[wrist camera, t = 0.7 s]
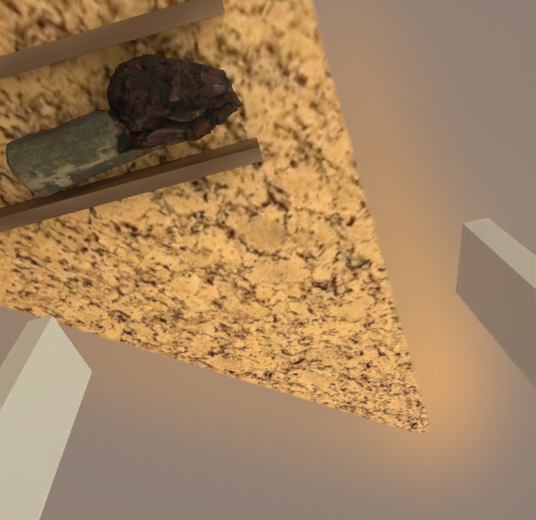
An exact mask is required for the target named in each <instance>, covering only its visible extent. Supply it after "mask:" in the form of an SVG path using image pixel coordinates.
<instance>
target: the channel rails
mask: <svg viewBox="0 0 536 520" xmlns="http://www.w3.org/2000/svg"><path fill="white" fill-rule="evenodd" d="M224 13H225V11H224V7H223V3H222V0H190V1H187V2H184V3H180V4H177V5H173V6H170V7H167V8H163V9H160V10H157V11H153V12H150V13H146V14H143V15H140V16H136V17H133V18H129V19H126V20H123V21H119V22H116V23H112V24H109V25H106V26H102V27H99V28H96V29H92V30H89V31H85V32H82V33H79V34H75V35H72V36H68V37H65V38H62V39H58V40H55V41H51V42H48V43H45V44H41V45H38V46H35V47H31V48H28V49H24V50H21V51H18V52H14V53H11V54H7V55H4V56H1V57H0V79H1V78H5V77H8V76H11V75H15V74H18V73H22V72H25V71H28V70H32V69H35V68H39V67H42V66H46V65H49V64H52V63H56V62H59V61H63V60H66V59H70V58H73V57H76V56H80V55H83V54H87V53H90V52H93V51H97V50H100V49H104V48H107V47H111V46H114V45H117V44H121V43H124V42H128V41H131V40H135V39H138V38H141V37H145V36H148V35H152V34H155V33H159V32H162V31H165V30H169V29H172V28H176V27H179V26H182V25H186V24H189V23H193V22H196V21H200V20H203V19H206V18H210V17H213V16H217V15H220V14H224ZM260 161H263V160H262V156H261V152H260V148H259V144H258V141H257V138H254V139H250V140H247V141H243V142H239V143H236V144H232V145H228V146H225V147H221V148H217V149H214V150H210V151H207V152H203V153H199V154H196V155H192V156H188V157H185V158H181V159H178V160H174V161H170V162H167V163H163V164H159V165H156V166H152V167H148V168H145V169H141V170H138V171H134V172H130V173H127V174H123V175H119V176H116V177H112V178H108V179H105V180H101V181H98V182H94V183H90V184H87V185H83V186H79V187H76V188H72V189H68V190H65V191H61V192H58V193H54V194H53V195H49V196H47V197H46V196H43V197H39V198H36V199H32V200H29V201H25V202H21V203H18V204H14V205H10V206H7V207H3V208H0V232H2V231H6V230H10V229H13V228H17V227H21V226H24V225H28V224H32V223H35V222H39V221H43V220H46V219H50V218H54V217H57V216H61V215H65V214H68V213H72V212H76V211H79V210H83V209H87V208H90V207H94V206H98V205H101V204H105V203H109V202H112V201H116V200H120V199H124V198H127V197H131V196H135V195H138V194H142V193H146V192H149V191H153V190H157V189H160V188H164V187H168V186H171V185H175V184H179V183H182V182H186V181H190V180H193V179H197V178H201V177H204V176H208V175H212V174H215V173H219V172H223V171H226V170H230V169H234V168H237V167H241V166H245V165H249V164H252V163H256V162H260Z"/></svg>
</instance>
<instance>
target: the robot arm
mask: <svg viewBox="0 0 536 520" xmlns="http://www.w3.org/2000/svg"><path fill="white" fill-rule="evenodd" d="M456 292H457V294H458V295H459V296H460V297H461V299H462V300H463V301H464V302H465V303H466V305H467V306H468V307H469V308H470V310H471V311H472V312H473V313H474V314H475V316H476V317H477V318H478V319H479V321H480V322H481V323H482V324H483V325H484V327H485V328H486V329H487V330H488V331H489V332H490V334H491V335H492V336H493V338H494V339H495V340H496V341H497V342H498V344H499V345H500V346H501V347H502V349H503V350H504V351H505V352H506V353H507V355H508V356H509V357H510V358H511V359H512V361H513V362H514V363H515V364H516V366H517V367H518V368H519V369H520V370H521V372H522V373H523V374H524V375H525V377H526V378H527V379H528V380H529V382H530V383H531V384H532V385H533V386H534V388H535V389H536V256H535V255H533V254H532V253H531V252H530V251H528V250H527V249H526V248H525V247H524V246H522V245H521V244H520V243H519V242H517V241H516V240H515V239H513V238H512V237H511V236H510V235H508V234H507V233H506V232H505V231H504V230H502V229H501V228H500V227H499V226H497V225H496V224H494V222H492V221H491V220H490V219H488V218H485V219H481V220H476V221H472V222H467V223H463V228H462V239H461V247H460V257H459V267H458V276H457V286H456ZM91 373H92V371H91V370H90V368H89V367H88V366H87V364H86V363H85V361H84V360H83V359H82V357H81V356H80V355H79V353H78V351H77V350H76V349H75V348H74V346H73V344H72V343H71V342H70V340H69V339H68V338H67V336H66V335H65V333H64V332H63V331H62V329H61V328H60V326H59V325H58V323H57V322H56V321H55V319H54V318H53V316H49V317H44V318H40V319H36V320H31V321H29V322H28V323H27V325H26V327H25V328H24V330H23V331H22V333H21V335H20V336H19V338H18V340H17V341H16V343H15V344H14V346H13V348H12V349H11V351H10V353H9V354H8V356H7V357H6V359H5V361H4V362H3V364H2V366H1V368H0V520H39V518H40V516H41V513H42V510H43V507H44V505H45V502H46V499H47V496H48V493H49V491H50V488H51V485H52V482H53V479H54V477H55V473H56V470H57V468H58V465H59V462H60V460H61V457H62V454H63V451H64V448H65V446H66V443H67V440H68V437H69V434H70V432H71V429H72V426H73V423H74V420H75V417H76V415H77V412H78V409H79V406H80V404H81V401H82V398H83V395H84V392H85V389H86V387H87V384H88V381H89V378H90V376H91Z"/></svg>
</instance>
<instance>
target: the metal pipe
mask: <svg viewBox="0 0 536 520" xmlns="http://www.w3.org/2000/svg"><path fill="white" fill-rule="evenodd" d="M107 99H108V103H109V105H110V107H111V108H110V110H109V111H108V112H107V111H103V110H98V111H93V112H91V113H89V114H87V115H84V116H81V117H78V118H76V119H73V120H71V121H69V122H66V123H64V124H62V125H60V126H58V127H56V128H52V129H48V130H44V131H41V132H38V133H35V134H32V135H29V136H26V137H23V138H20V139H18V140H15V141H12V142H10V143H8V145H7V147H6V158H7V163H8V166H9V168H10V170H11V172H12V173H13V174H14V176H15V177H16V178H17V179H18V180H19V181H21V182H22V183H23V185H24V186H26V187H27V188H28V189H29V190H31V191H32V192H33V193H35V194H36V195H39V196H46V197H47V196H49V195H53V194H54V193H56V192H59V191H61V190H63V189H66V188H68V187H70V186H73V185H75V184H77V183H79V182H81V181H84V180H87V179H89V178H91V177H93V176H96V175H98V174H100V173H102V172H104V171H107V170H109V169H112V168H114V167H116V166H119V165H121V164H124V163H126V162H129V161H131V160H133V159H136V158H138V157H140V156H143V155H146V154H148V153H150V152H153V151H155V150H157V149H160V148H163V147H166V146H169V145H173V144H177V143H180V142H184V141H191V140H192V141H194V140H198V139H200V138H202V137H203V136H205V135H206V134H209V133H211V130H213V129H214V128H215V126H216V124H217V125H221V124H223V123H225V121H226V119H227V117H229V116H230V115H231V114H232V113H233V112H235V111H237V110H238V108H237V107H240V106H241V102H240V100H239V99H238V97H237V94H236V93H235V92H233V89H232V84H231V81H230V79H228V78H227V77H226V72H225V71H224V70H219V69H214V68H212V67H209V66H206V65H202V64H198V63H194V62H191V63H187V62H186V61H184V60H178V59H173V58H168V59H164V58H162V57H159V56H156V55H143V56H141V57H135V58H134V59H130V60H129V61H127V62H124V63H121V64H120V65H118V67H117V68H116V69H115V72H114V74H113V75H112V76H111V80H110V84H109V87H108V89H107Z"/></svg>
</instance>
